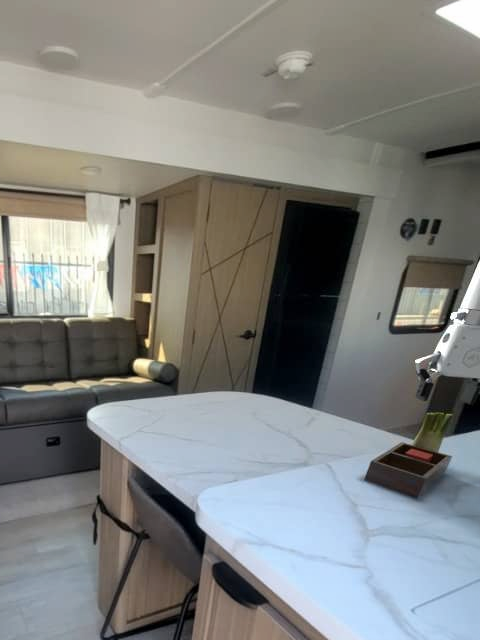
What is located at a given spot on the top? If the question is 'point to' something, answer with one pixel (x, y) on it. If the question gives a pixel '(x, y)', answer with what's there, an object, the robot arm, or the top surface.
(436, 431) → the fennel bulb
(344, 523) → the top surface
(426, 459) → the red block
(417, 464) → the tray
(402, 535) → the top surface
